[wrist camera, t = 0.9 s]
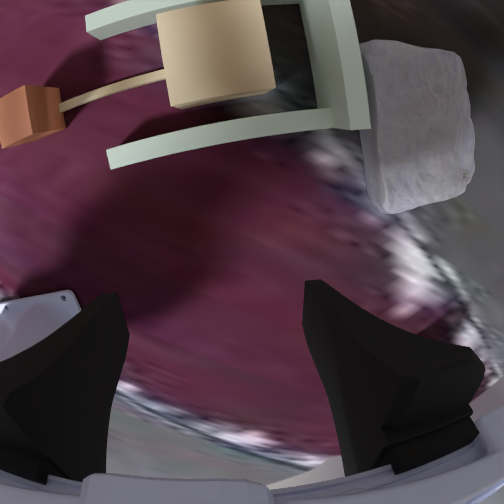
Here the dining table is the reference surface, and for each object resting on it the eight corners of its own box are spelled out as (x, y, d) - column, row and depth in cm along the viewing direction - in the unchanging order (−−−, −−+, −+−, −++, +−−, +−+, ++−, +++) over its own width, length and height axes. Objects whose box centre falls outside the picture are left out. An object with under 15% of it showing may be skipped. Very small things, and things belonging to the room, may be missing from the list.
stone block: (426, 48, 19) (329, 45, 17) (470, 45, 15) (375, 33, 13) (440, 180, 24) (355, 209, 22) (481, 194, 20) (399, 230, 18)
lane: (122, 163, 19) (95, 178, 14) (98, 25, 15) (68, 4, 10) (336, 124, 19) (370, 128, 15) (313, -11, 15) (338, -40, 10)
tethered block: (40, 153, 17) (1, 166, 13) (29, 88, 15) (-13, 87, 11) (261, 95, 18) (276, 87, 13) (248, 23, 16) (259, -3, 11)
